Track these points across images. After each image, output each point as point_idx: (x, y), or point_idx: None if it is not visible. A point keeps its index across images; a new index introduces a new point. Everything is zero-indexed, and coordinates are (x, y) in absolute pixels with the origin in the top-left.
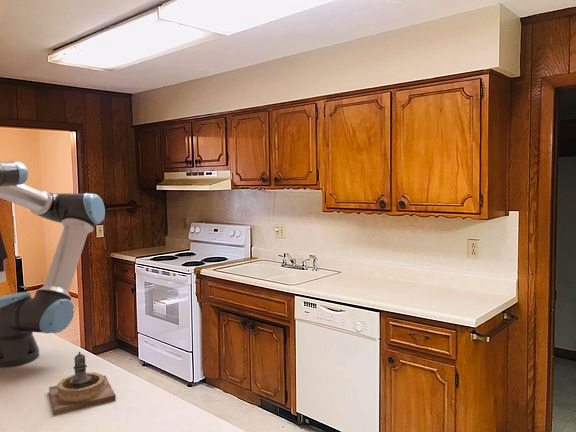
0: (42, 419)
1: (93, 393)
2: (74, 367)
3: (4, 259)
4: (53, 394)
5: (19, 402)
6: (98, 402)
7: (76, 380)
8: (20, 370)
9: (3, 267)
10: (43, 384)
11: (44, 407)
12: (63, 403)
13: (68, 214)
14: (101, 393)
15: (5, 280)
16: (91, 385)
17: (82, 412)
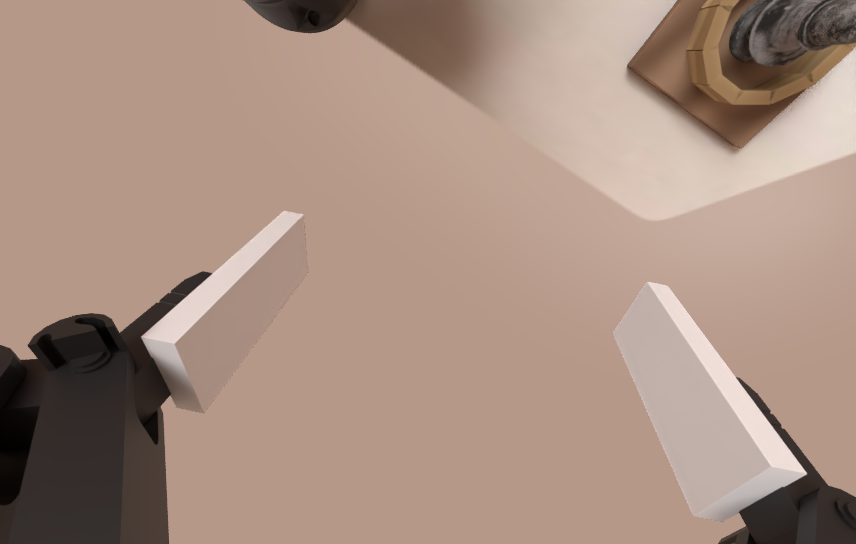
0: (715, 171)
1: None
2: (809, 45)
3: (852, 500)
4: (680, 92)
5: (592, 144)
6: None
7: (790, 52)
8: (410, 6)
9: (769, 418)
10: (568, 38)
11: (678, 132)
12: (748, 115)
13: None
14: None
15: (669, 295)
16: None
17: (810, 102)
